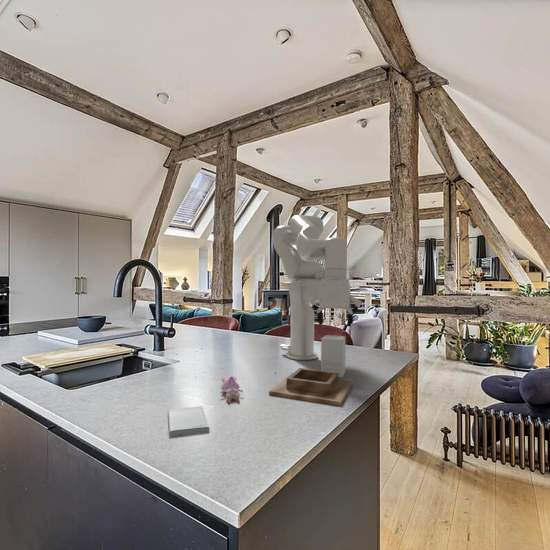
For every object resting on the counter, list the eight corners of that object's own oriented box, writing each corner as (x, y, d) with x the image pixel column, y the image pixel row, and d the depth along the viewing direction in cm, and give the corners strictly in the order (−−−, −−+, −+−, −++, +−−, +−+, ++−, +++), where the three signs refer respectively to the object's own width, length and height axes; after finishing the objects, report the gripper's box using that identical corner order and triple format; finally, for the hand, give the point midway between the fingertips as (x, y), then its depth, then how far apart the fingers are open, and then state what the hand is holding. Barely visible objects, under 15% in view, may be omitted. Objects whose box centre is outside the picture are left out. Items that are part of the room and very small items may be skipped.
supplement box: (345, 372, 123) (346, 336, 123) (342, 378, 116) (343, 339, 116) (324, 370, 126) (325, 334, 126) (320, 375, 119) (320, 338, 119)
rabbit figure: (245, 407, 94) (237, 381, 108) (246, 386, 93) (238, 362, 107) (221, 409, 92) (217, 382, 106) (222, 387, 91) (217, 363, 105)
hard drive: (209, 426, 76) (202, 405, 88) (169, 431, 73) (168, 408, 85) (209, 434, 76) (202, 412, 88) (169, 439, 73) (167, 415, 85)
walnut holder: (268, 394, 99) (269, 380, 99) (292, 375, 118) (292, 363, 118) (340, 405, 92) (340, 390, 92) (353, 383, 111) (353, 371, 111)
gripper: (307, 274, 120) (307, 325, 120) (360, 274, 114) (359, 328, 114) (313, 274, 127) (313, 322, 127) (363, 274, 121) (362, 325, 121)
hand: (335, 325), depth 120 cm, fingers open, 9 cm apart
